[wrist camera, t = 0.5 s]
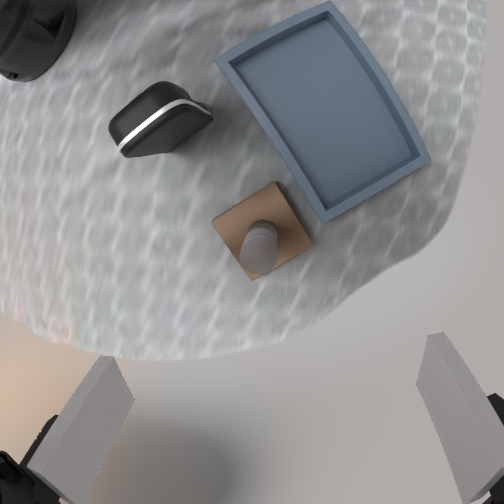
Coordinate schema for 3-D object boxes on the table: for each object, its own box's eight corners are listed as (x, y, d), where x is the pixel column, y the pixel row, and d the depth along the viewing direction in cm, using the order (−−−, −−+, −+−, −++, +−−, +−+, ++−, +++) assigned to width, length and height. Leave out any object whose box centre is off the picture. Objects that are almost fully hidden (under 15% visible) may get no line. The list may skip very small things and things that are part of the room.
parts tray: (219, 67, 28) (214, 60, 25) (326, 11, 25) (330, 0, 22) (318, 217, 33) (322, 224, 30) (419, 158, 30) (431, 160, 27)
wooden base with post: (213, 218, 34) (194, 242, 26) (274, 180, 32) (273, 192, 24) (252, 275, 36) (245, 312, 28) (312, 241, 34) (322, 271, 26)
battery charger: (198, 92, 29) (160, 69, 19) (216, 119, 30) (186, 106, 20) (149, 129, 31) (94, 126, 20) (165, 155, 32) (116, 162, 21)
